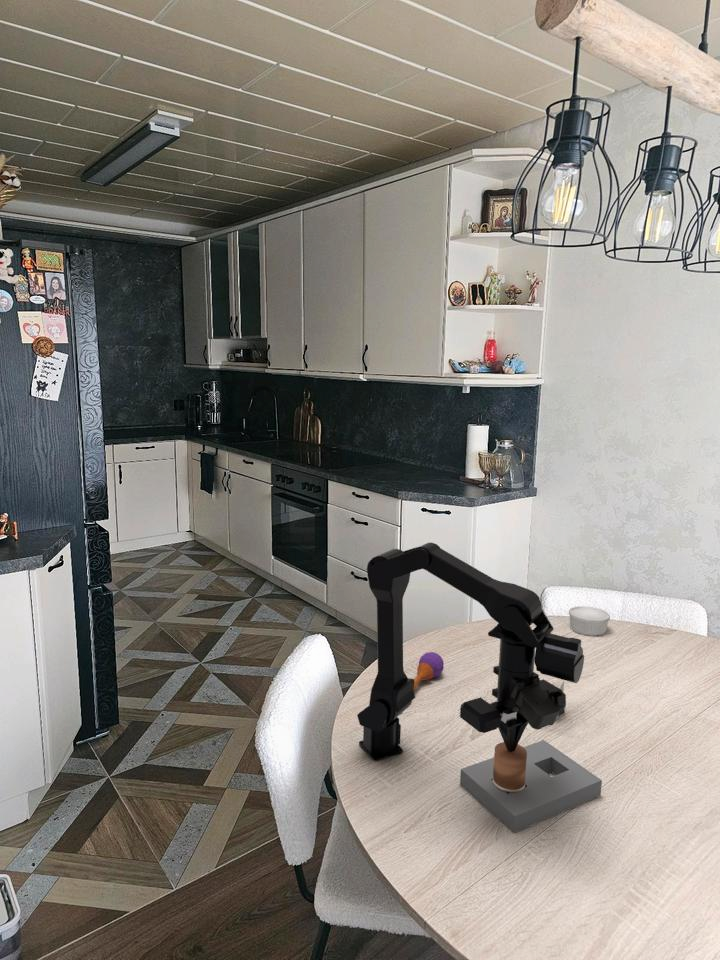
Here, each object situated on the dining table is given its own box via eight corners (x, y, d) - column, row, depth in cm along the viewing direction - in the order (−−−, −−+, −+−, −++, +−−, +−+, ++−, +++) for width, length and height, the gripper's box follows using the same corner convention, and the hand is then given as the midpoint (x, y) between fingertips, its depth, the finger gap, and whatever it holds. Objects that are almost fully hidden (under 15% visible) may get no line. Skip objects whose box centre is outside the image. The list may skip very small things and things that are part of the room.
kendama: (384, 686, 145) (423, 647, 162) (389, 711, 146) (427, 669, 163) (408, 688, 142) (445, 648, 159) (413, 714, 143) (449, 671, 159)
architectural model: (539, 719, 141) (541, 687, 139) (547, 705, 147) (549, 674, 145) (555, 723, 139) (558, 691, 138) (563, 709, 145) (565, 677, 144)
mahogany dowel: (506, 811, 110) (509, 764, 109) (485, 792, 115) (487, 747, 113) (530, 801, 113) (534, 755, 111) (509, 783, 118) (512, 738, 116)
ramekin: (581, 619, 196) (582, 602, 195) (616, 631, 187) (617, 613, 186) (559, 628, 189) (561, 611, 188) (595, 641, 180) (596, 623, 179)
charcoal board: (513, 832, 105) (514, 816, 105) (460, 784, 118) (460, 768, 117) (600, 795, 115) (601, 780, 115) (542, 754, 127) (543, 739, 127)
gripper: (505, 699, 98) (500, 793, 101) (593, 673, 107) (586, 760, 110) (460, 669, 108) (455, 755, 111) (544, 647, 117) (538, 728, 119)
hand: (510, 750), depth 112 cm, fingers closed
